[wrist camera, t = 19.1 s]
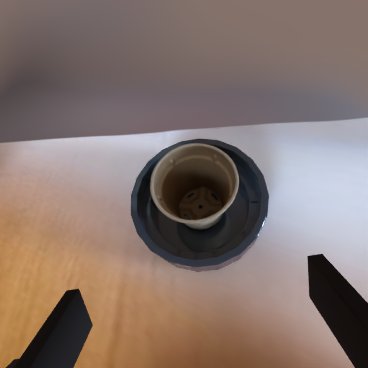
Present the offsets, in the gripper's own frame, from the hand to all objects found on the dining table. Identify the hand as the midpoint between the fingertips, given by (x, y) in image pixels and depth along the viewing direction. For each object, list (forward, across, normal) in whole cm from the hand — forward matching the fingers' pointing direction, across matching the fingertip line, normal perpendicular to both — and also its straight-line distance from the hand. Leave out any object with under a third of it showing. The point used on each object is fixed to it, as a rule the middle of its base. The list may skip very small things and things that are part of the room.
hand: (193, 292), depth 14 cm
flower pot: (+19, +1, -3) cm, 20 cm away
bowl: (+20, +1, -4) cm, 20 cm away
